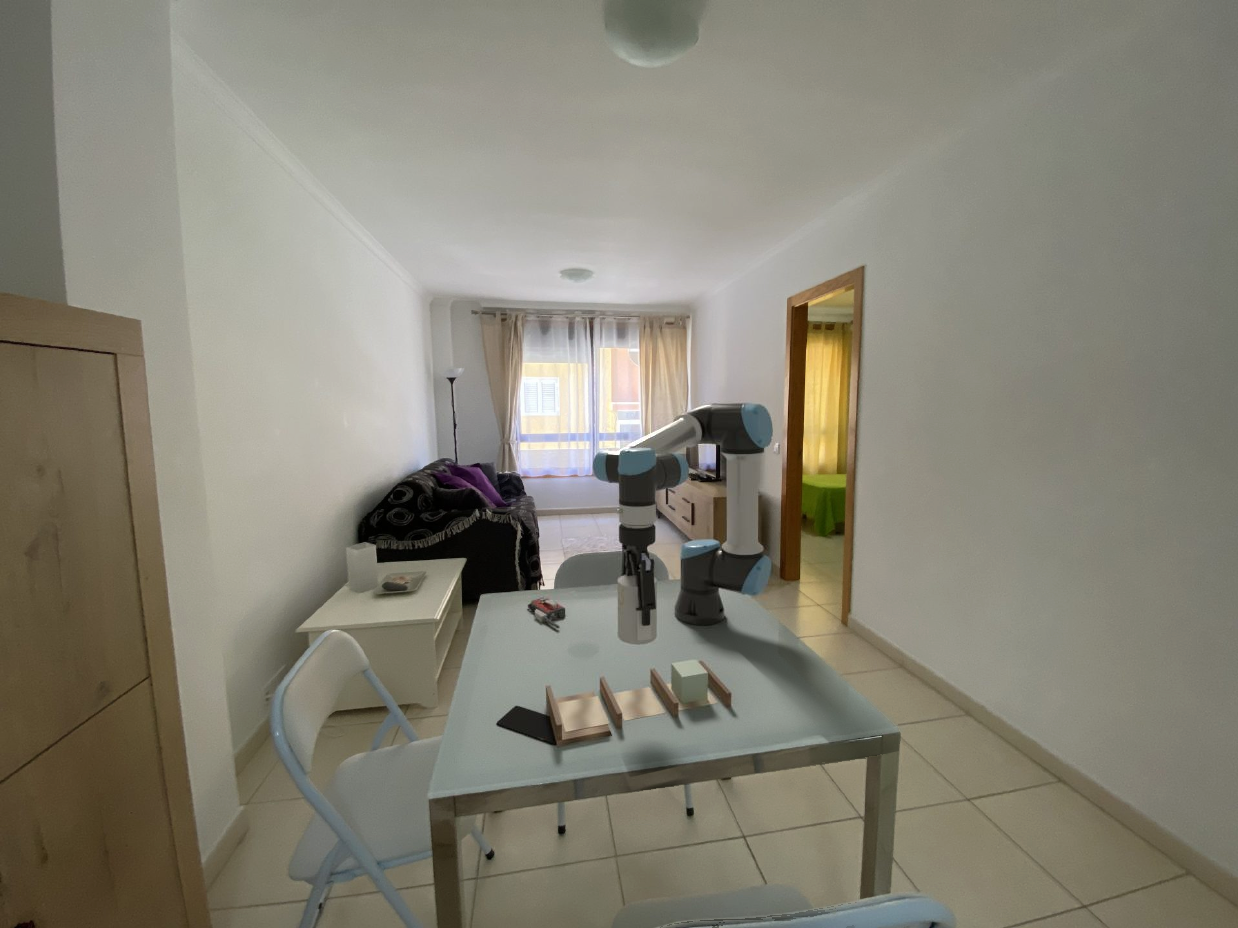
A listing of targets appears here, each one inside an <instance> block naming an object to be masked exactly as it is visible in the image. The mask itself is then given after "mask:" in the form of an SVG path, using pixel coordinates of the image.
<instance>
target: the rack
mask: <svg viewBox="0 0 1238 928" xmlns="http://www.w3.org/2000/svg"><path fill="white" fill-rule="evenodd" d="M697 661H698V662H699V663H700V664H701V665H702V667H703V668H704V669H705V670H706V671H707V672H708V687H709V688H710V690H712V692H713V694H715V696H716V697H717V698H719V700H720V701H721V703H722V704H723V705H724V706H725V707H726V708H730V707H732V692H731V691H730V689H729V688H728V687H727V686H726V685H725V684H724V683H723V682H722V681H721V679H719V678H718V676H717V675H716V674H715V673H714V672H713V670H711V669H710V668H709V666H708V665H707V664H706V663H705V662H704V661H703V660H697ZM649 674H650V676H649V677H650V678H649V679H650V684H651V685H652V686H653V688H654V689H655V691H656V693H657V694H658V696H659V698H660V699H661V701H662V702H663V703H664V705H665V706H666V708H667V709H668V711H669V713H670V714H671V716H672V717H673V718H679V713H680V712H679V711H684V710H688V709H694V708H698V707H704V706H709V705H714V704H718V701H717V700H716V698H715V697H714V696H713V695H712V694H711V692H710V691H709V690H708V699H704V700H698V701H693V702H688V703H681V702H680V700H679V699H678V697H677V696H676V695H675V693H674V692H673V690H672V689H671V682H670V683H666V682H665V681H664V680H663V678H662V677H661V676H660V674H659V673H658V671H657V670H656V668H650V673H649ZM594 692H595V691H592V692H586V693H585V692H584V693H579V694H573V695H568V696H567V695H566V696H561V697H556V698H555V696H554V691H553V689H552V685H545V699H546V701H545V704H546V708H547V709H546V710H547V713H548V716H550V719H551V723H552V727H553V731H554V735H555V739H556V743H557V745H556V747H557V748H558V747H561V746H563V747H564V746H568V745H573V744H577V743H582V742H588V741H592V740H593V741H594V740H597V739H604V738H609V737H612V736H613V733H612V731H611V730H610V727H609V725H610V724H611V722H610V720H609V719H608V716H607V714H606V712H605V709H604V706H603V704H602V702H601V700H600V697H599V696H598V695H595V693H594ZM599 692H600V694H601V696H602V698H603V700H604V703H605V705H606V707H607V709H608V711H609V713H610V715H611V718H612V720H613V722H614V725H615V726H616V729H617V730H618V729H622V728H623V721H624V722H627V721H631V720H635V719H640V718H641V719H642V718H647V717H652V716H657V715H662V714H663V715H664V714H666V710H665V709H664V707H663V706H662V704H661V703H660V702H659V700H658V698H657V697H656V696H655V693H654V692H653V691H652V689H651V687H649V686H647V687H643V688H642V687H641V688H637V689H636V688H635V689H630V690H625V691H620V692H612V690H611V688H610V686H609V684H608V681H607V680H606V678H605V676H600V677H599Z"/></svg>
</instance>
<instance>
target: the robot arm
mask: <svg viewBox="0 0 1238 928" xmlns="http://www.w3.org/2000/svg"><path fill="white" fill-rule="evenodd" d="M773 427H774V426H773V421H772V417H771V413H770V412H769V411H768V409H767V408H766V407H765V406H764V405H762V404H760V403H752V402H751V403H750V402H741V403H740V402H737V403H735V402H734V403H730V402H729V403H716V402H715V403H708V404H704V405H701V406H698V407H695V408H692V409H690V410H688V411H685V412H683V413H680V415H677V416H676V417H674V419H673V420H672V422H671V423H669V424H667V425H665V426H662V427H661V428H658V429H657V430H655V431H653V432H651V433H649V434H647V435H645V436H642V437H641V438H638V439H637V440H635V441H632V442H631V443H629V444H627V445H625V446H623V447H621V448H618V449H615V450H612V449H608V450H606V449H605V450H604V449H603V450H600V451H598V452H597V453H596V455H595V456H594V458H593V461H592V469H593V470H592V471H593V474H594V476H595V478H596V479H597V480H599V481H601V482H606V483H609V484H618V495H619V496H618V507H619V508H618V509H616V511H615V512H616V514H618V521H619V523H620V524H619V525H618V542H619V543H620V544H621V550H622V553H621V554H622V555H621V571H620V572H621V573H620V577H621V576H624V575H627V576H632V575H634V576H635V578H636V586H637V587H638V602H639V608H636V611H637V639H638V641H640V640H647V639H651V610H654V609H656V601H655V584H654V577H655V560H654V559H653V558H650V553H649V551H648V547H649V546H650V545H651V546H652V545H653V544H655V542H656V525H655V522H656V521H657V503H656V494H657V493H656V492H658V491H662V490H663V491H664V490H667V489H670V488H671V489H672V488H673V489H674V488H676V487H678V486H681V485H682V484H684V483H685V481H687V479H688V477H689V475H690V467H689V463H688V461H687V459H686V457H684V456H683V455H682V454H680V453H677V452H680V451H681V450H683V449H685V448H693V447H695V446H698V445H717V446H720V454H721V455H723V456H724V458H725V459H726V541H725V542H723V543H722V544H721V543H720V541H718V540H717V539H712V538H710V539H709V538H708V539H706V538H705V539H704V538H703V539H702V538H701V539H694V540H691V541H687V542H685V543H684V544H683V545H682V546H681V549H680V550H681V551H680V556H679V559H680V589H679V593H678V596H677V599H676V602H675V604H674V616H675V617H676V619H678V620H679V621H681V622H683V623H686V624H689V625H694V626H695V625H697V626H708V625H710V626H711V625H715V624H718V623H720V622H722V621H723V620H724V619H725V607H724V604H723V601H722V597H721V594H720V589H721V590H726V591H729V592H734V593H736V594H741V595H743V596H744V595H746V596H753V597H756V596H759V595H761V594H762V593H763V592H764V590H765V588H766V586H767V584H768V582H769V580H770V579H769V578H770V576H771V570H772V560H771V558H770V556H767V555H764V545H762V544H761V543H760V542H759V459H760V457H761V456H763V454H765V448H767V447H770V445H771V443H772V440H773V439H772V437H773V435H774V433H773V431H774V430H773V429H774V428H773Z"/></svg>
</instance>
